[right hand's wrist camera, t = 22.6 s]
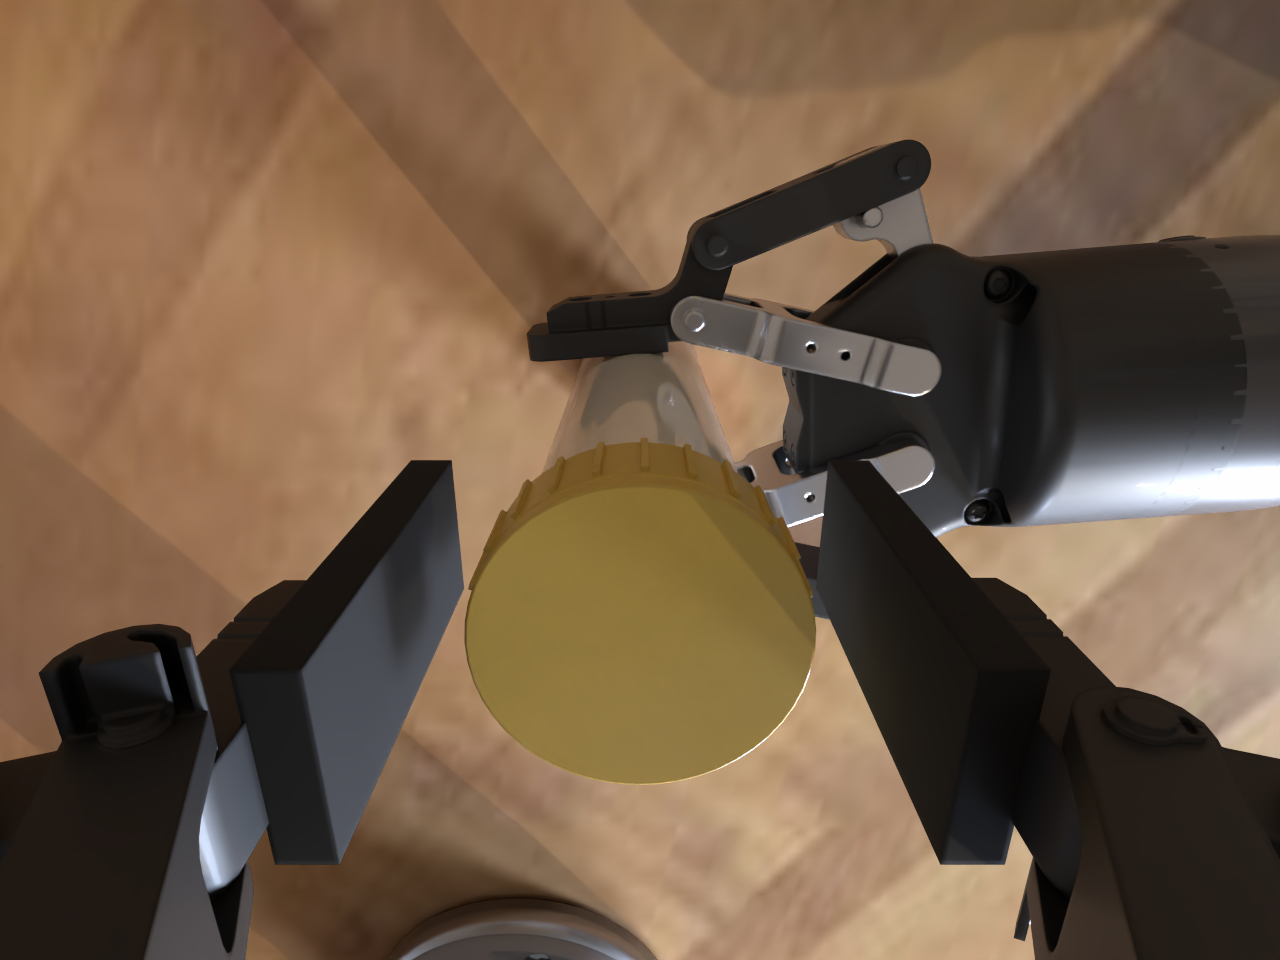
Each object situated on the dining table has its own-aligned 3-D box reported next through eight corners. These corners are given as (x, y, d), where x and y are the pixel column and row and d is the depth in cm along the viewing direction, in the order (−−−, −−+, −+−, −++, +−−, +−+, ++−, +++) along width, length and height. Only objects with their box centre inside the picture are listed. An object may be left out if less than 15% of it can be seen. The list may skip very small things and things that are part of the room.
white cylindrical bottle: (560, 387, 27) (450, 646, 11) (623, 289, 26) (598, 429, 10) (655, 449, 28) (674, 767, 12) (721, 356, 26) (836, 579, 11)
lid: (431, 501, 12) (394, 554, 10) (738, 387, 11) (756, 423, 9) (559, 745, 13) (547, 826, 12) (832, 659, 13) (862, 732, 11)
